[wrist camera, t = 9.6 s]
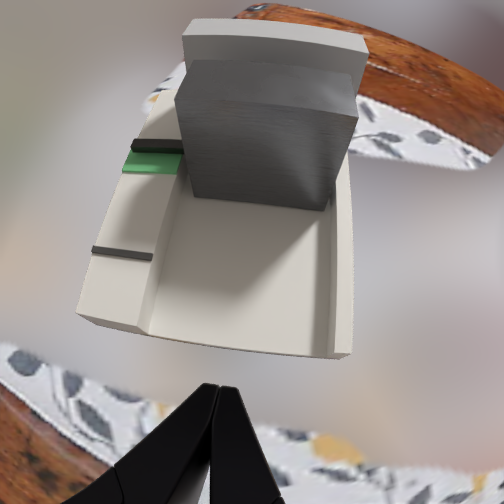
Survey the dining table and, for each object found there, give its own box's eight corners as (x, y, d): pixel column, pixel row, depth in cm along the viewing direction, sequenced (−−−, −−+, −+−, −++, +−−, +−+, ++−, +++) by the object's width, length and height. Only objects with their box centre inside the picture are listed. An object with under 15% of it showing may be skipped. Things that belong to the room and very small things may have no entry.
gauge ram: (324, 211, 22) (358, 117, 14) (135, 192, 22) (96, 101, 14) (323, 167, 23) (350, 75, 15) (150, 152, 24) (124, 63, 16)
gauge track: (338, 359, 18) (420, 320, 9) (96, 324, 19) (1, 263, 10) (336, 130, 27) (362, 35, 18) (167, 114, 27) (148, 22, 18)
